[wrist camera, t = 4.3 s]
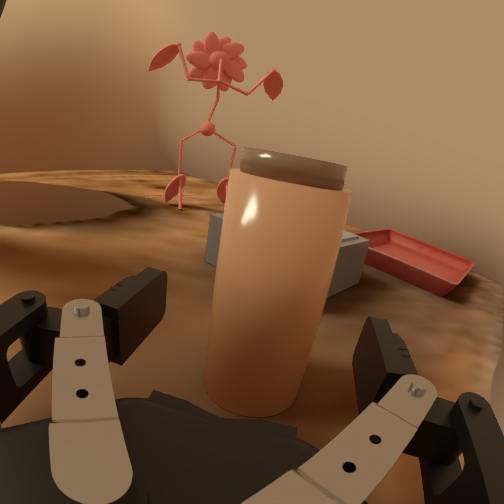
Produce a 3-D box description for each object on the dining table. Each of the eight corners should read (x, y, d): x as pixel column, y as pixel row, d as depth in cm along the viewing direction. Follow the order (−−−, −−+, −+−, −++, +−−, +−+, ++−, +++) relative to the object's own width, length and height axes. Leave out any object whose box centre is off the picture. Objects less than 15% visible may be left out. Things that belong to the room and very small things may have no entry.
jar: (184, 373, 16) (208, 142, 13) (251, 346, 20) (286, 154, 16) (250, 432, 13) (311, 158, 9) (314, 388, 17) (375, 173, 13)
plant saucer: (448, 309, 31) (458, 282, 30) (331, 255, 43) (336, 233, 42) (469, 281, 43) (476, 262, 42) (383, 245, 55) (388, 228, 54)
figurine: (271, 215, 61) (297, 43, 51) (133, 209, 49) (165, 10, 39) (239, 200, 74) (261, 58, 64) (128, 195, 62) (152, 36, 52)
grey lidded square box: (204, 260, 33) (210, 211, 31) (278, 248, 41) (286, 209, 40) (294, 311, 25) (308, 251, 24) (358, 282, 34) (370, 238, 32)
